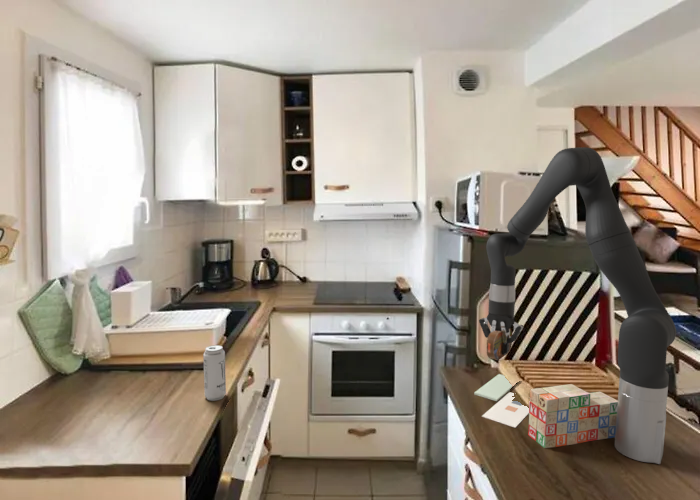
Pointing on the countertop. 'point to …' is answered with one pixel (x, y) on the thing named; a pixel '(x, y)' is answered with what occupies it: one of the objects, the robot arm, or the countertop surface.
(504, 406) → the tile
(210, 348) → the energy drink can
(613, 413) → the stack of blocks
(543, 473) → the countertop surface
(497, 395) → the pad
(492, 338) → the tin
